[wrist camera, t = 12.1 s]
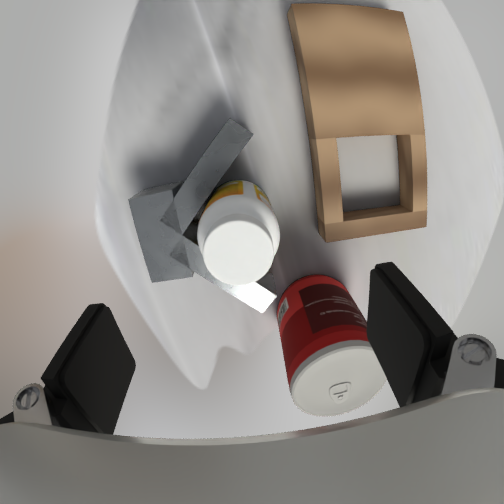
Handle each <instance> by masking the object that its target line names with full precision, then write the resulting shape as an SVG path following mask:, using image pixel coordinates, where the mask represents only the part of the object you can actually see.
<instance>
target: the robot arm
mask: <svg viewBox="0 0 504 504" xmlns="http://www.w3.org/2000/svg"><path fill="white" fill-rule="evenodd" d="M366 332H367V338H368V341H369V343H370V345H371V347H372V349H373V351H374V353H375V355H376V357H377V359H378V361H379V363H380V365H381V367H382V369H383V371H384V374H385V376H386V378H387V380H388V382H389V384H390V386H391V388H392V391H393V393H394V395H395V397H396V399H397V401H398V404H399V406H400V408H397V409H393V410H390V411H386V412H383V413H379V414H375V415H371V416H367V417H363V418H358V419H354V420H350V421H346V422H341V423H337V424H332V425H327V426H322V427H316V428H311V429H305V430H298V431H292V432H284V433H277V434H268V435H259V436H248V437H234V438H214V439H165V438H164V439H163V438H162V439H161V438H144V437H143V438H142V437H130V436H120V435H113V433H114V429H115V426H116V423H117V420H118V417H119V414H120V411H121V408H122V405H123V402H124V399H125V396H126V393H127V390H128V387H129V385H130V382H131V379H132V376H133V374H134V371H135V366H136V365H135V360H134V358H133V356H132V354H131V352H130V350H129V348H128V346H127V344H126V342H125V340H124V338H123V336H122V334H121V332H120V330H119V327H118V325H117V323H116V321H115V319H114V317H113V314H112V312H111V310H110V308H109V307H106V305H104V304H103V303H100V304H91V305H89V306H88V307H87V308H86V309H85V311H84V312H83V314H82V315H81V317H80V318H79V319H78V321H77V322H76V324H75V325H74V327H73V328H72V330H71V331H70V333H69V334H68V336H67V337H66V339H65V340H64V342H63V343H62V345H61V346H60V348H59V349H58V351H57V352H56V354H55V356H54V357H53V359H52V360H51V362H50V364H49V365H48V367H47V368H46V370H45V372H44V373H43V375H42V377H41V379H42V381H43V382H44V384H45V387H44V389H43V387H42V386H41V385H40V384H36V383H33V384H29V385H26V386H24V387H23V388H22V389H20V390H19V392H18V393H17V394H16V395H15V398H14V400H13V412H11V413H10V414H8V415H6V416H5V417H3V418H1V419H0V504H504V360H503V359H499V358H496V349H495V348H494V345H493V344H492V343H491V342H490V341H489V340H488V339H486V338H485V337H483V336H480V335H476V334H467V335H463V336H461V337H459V338H457V337H456V335H455V334H454V333H453V331H452V330H451V328H450V327H449V326H448V325H447V324H446V322H445V321H444V320H443V319H442V318H441V316H440V315H439V314H438V313H437V312H436V310H435V309H434V308H433V307H432V306H431V304H430V303H429V302H428V301H427V300H426V299H425V298H424V296H423V295H422V294H421V293H420V292H419V291H418V290H417V288H416V287H415V286H414V285H413V284H412V283H411V282H410V281H409V280H408V278H407V277H406V276H405V275H404V274H403V273H402V272H401V271H400V270H399V269H398V268H397V266H396V265H395V264H394V263H393V262H387V263H381V264H376V266H375V269H372V270H371V272H370V290H369V305H368V318H367V330H366Z"/></svg>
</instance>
